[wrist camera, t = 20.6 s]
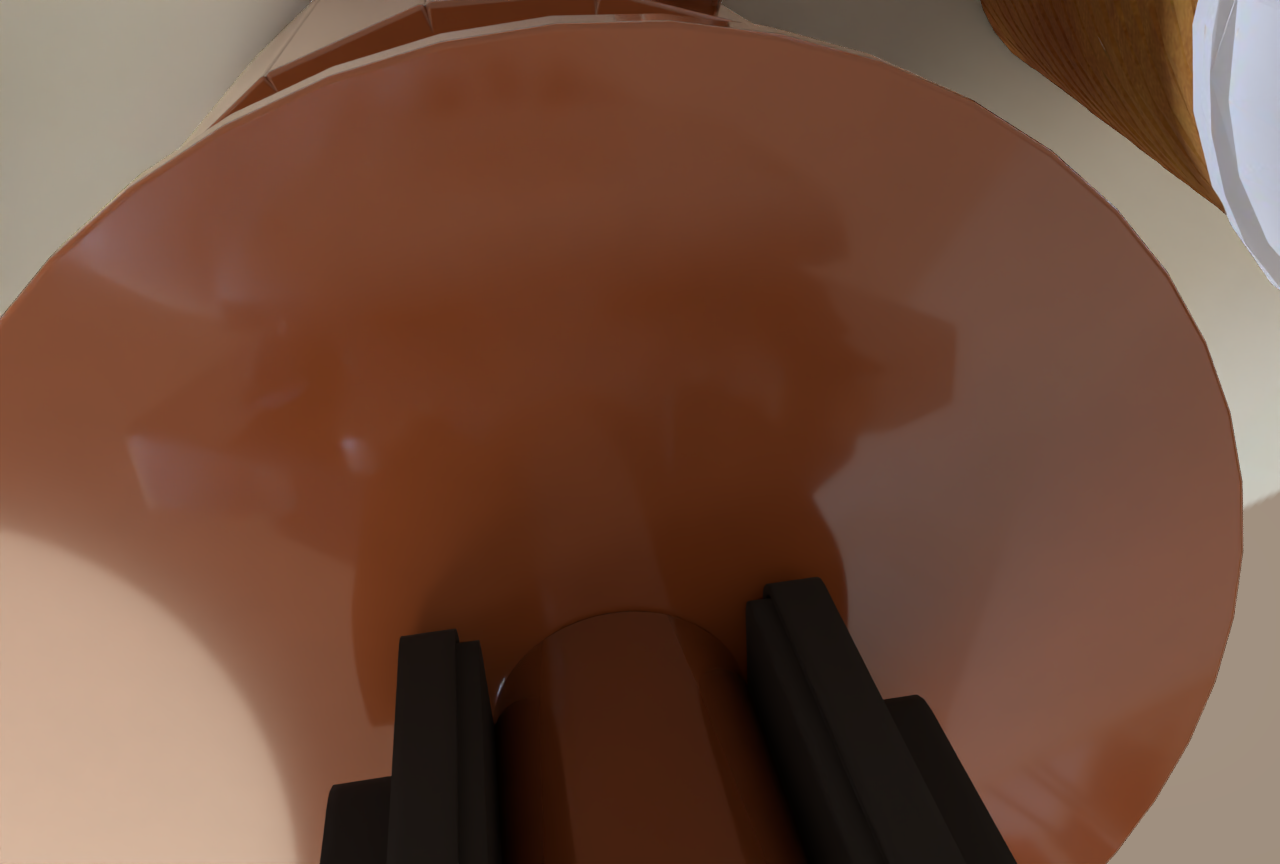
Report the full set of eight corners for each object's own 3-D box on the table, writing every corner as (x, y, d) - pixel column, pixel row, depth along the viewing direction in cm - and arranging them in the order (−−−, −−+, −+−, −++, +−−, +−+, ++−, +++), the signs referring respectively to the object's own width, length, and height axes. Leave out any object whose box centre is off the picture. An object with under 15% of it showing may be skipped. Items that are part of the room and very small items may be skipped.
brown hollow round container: (280, 547, 27) (207, 871, 18) (132, -39, 21) (-73, 45, 12) (810, 474, 28) (968, 746, 20) (813, -96, 22) (1039, -53, 14)
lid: (143, 1127, 15) (-23, 1831, 10) (-316, 82, 9) (-1461, 448, 4) (1108, 951, 17) (1427, 1487, 11) (1293, -62, 10) (2210, 46, 5)
